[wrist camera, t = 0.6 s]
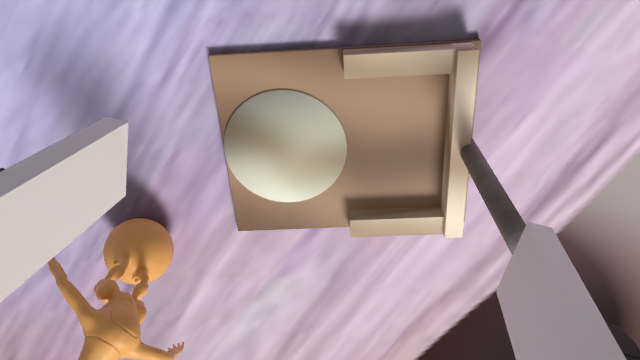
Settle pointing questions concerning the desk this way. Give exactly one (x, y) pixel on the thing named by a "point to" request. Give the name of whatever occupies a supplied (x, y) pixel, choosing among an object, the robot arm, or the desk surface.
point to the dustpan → (357, 139)
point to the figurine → (122, 309)
